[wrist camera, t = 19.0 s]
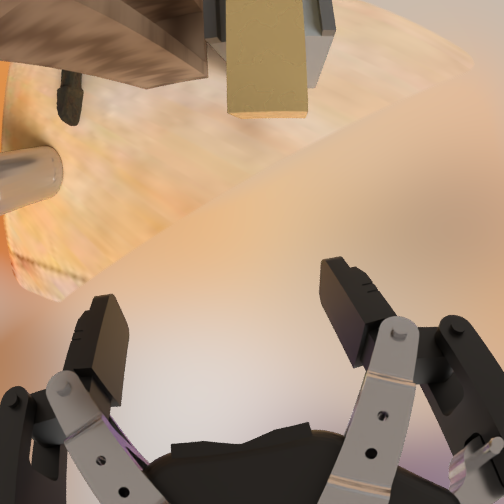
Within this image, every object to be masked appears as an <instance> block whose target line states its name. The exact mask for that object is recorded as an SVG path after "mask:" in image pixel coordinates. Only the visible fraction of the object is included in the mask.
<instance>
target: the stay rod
mask: <svg viewBox="0 0 504 504" xmlns="http://www.w3.org/2000/svg"><path fill="white" fill-rule="evenodd" d="M226 65H227V113H228V114H231V115H233V116H236V117H238V118H240V119H250V118H306V115H307V113H308V92H307V66H306V46H305V30H304V15H303V2H302V0H226Z"/></svg>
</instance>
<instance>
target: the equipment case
mask: <svg viewBox="0 0 504 504" xmlns="http://www.w3.org/2000/svg"><path fill="white" fill-rule="evenodd" d="M302 2H303V15H304V30H305V46H306V66H307V88H315V87H316V84H317V82H318V79H319V76H320V73H321V71H322V68H323V65H324V62H325V60H326V57H327V54H328V51H329V48H330V46H331V43H332V40H333V37H334V35H335V32H336V26H335V19H334V12H333V6H332V0H302ZM203 17H204V39H205V40H206V41H207V42H208V43H209V44H210V45H211V46H212V47H213V49H214V50H215V51H216V52H217V53H218V54H219V55H220V56H221V57H222V58H223V59H224V60H225V61H226V0H203Z"/></svg>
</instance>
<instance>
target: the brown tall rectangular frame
mask: <svg viewBox="0 0 504 504" xmlns="http://www.w3.org/2000/svg"><path fill="white" fill-rule="evenodd" d="M0 61H8V62H17V63H25V64H32V65H39V66H45V67H51V68H57V69H62V70H68V71H73V72H78V73H83V74H87V75H92V76H97V77H101V78H105V79H109V80H113V81H117V82H121V83H125V84H129V85H133V86H136V87H140V88H144V89H150V88H154V87H159V86H164V85H169V84H174V83H179V82H185V81H190V80H196V79H203V78H208V64H207V45H206V40H205V39H204V17H203V0H0Z"/></svg>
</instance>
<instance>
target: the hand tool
mask: <svg viewBox="0 0 504 504" xmlns="http://www.w3.org/2000/svg"><path fill="white" fill-rule="evenodd" d="M81 75H82V73H78V72H73V71H68V70H62V73H61V86H60V87H61V88H59V89H58V90H57V110H58V115H59V117H60V118H61V120H62V121H64V122H65V123H67V124H68V125H70V126H77V124H78V122H79V119H80V113H81V107H82V99H83V90H82V89H81Z"/></svg>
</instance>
